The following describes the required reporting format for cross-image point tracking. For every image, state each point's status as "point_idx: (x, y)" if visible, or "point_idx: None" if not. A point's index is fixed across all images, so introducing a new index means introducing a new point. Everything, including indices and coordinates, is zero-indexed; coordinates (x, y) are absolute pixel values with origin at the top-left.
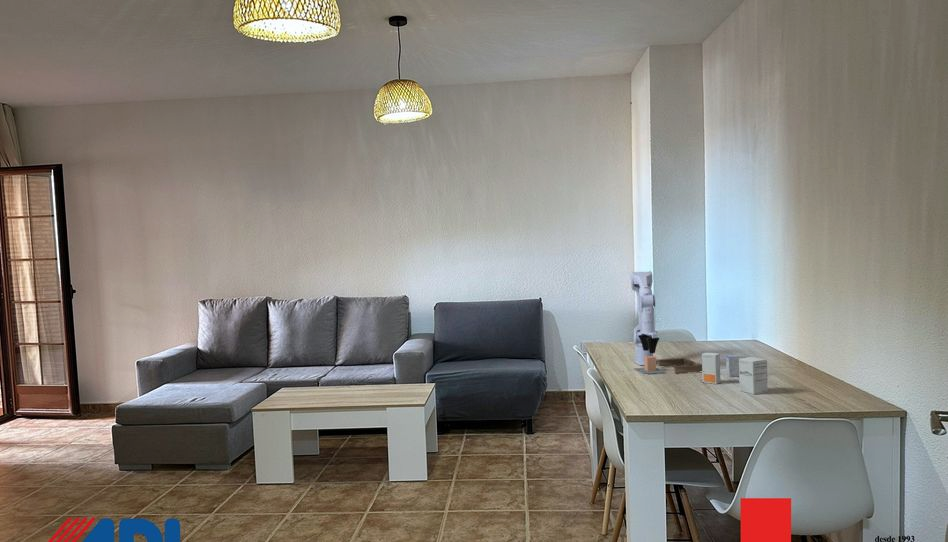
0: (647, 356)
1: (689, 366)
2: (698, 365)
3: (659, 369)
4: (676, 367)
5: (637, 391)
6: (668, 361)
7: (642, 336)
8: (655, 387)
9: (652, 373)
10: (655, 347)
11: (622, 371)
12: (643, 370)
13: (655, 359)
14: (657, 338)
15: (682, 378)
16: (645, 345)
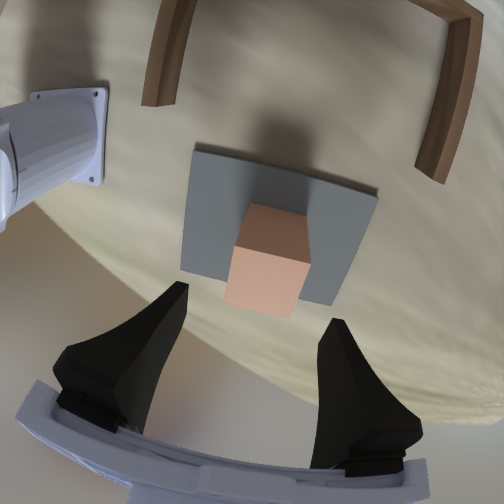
0: (235, 285)
1: (470, 92)
2: (480, 39)
3: (285, 176)
4: (445, 176)
5: (458, 398)
6: (173, 37)
7: (137, 427)
8: (478, 361)
9: (347, 270)
10: (362, 359)
11: (202, 323)
12: None
13: (308, 256)
14: (414, 442)
15: (498, 223)
16: (168, 335)
